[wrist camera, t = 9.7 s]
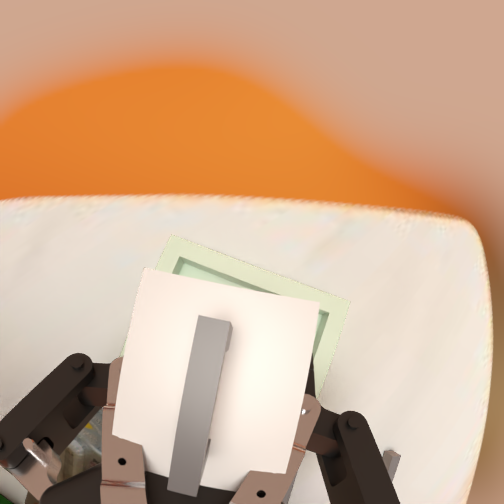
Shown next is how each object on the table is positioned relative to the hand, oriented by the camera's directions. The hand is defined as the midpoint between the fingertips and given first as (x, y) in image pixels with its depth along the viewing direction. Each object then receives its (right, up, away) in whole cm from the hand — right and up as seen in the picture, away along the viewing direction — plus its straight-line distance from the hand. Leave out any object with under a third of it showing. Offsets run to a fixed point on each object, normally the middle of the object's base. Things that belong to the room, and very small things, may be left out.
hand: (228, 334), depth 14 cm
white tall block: (-1, -3, +4) cm, 5 cm away
